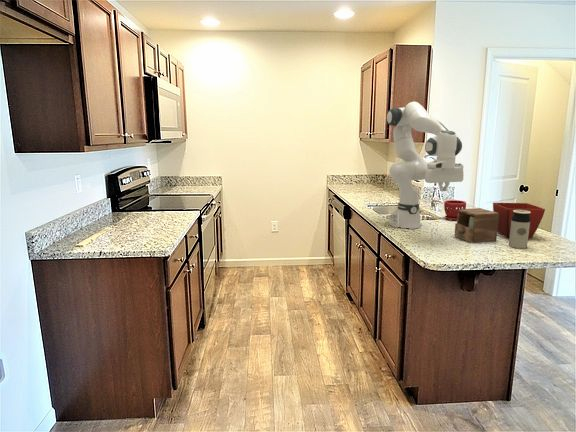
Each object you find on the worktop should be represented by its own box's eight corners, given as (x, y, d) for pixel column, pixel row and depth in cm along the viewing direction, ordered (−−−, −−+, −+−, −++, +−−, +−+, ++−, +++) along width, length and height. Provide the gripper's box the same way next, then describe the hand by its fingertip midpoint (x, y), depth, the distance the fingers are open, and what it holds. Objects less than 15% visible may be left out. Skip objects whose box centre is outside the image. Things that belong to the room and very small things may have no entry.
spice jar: (465, 235, 214) (467, 215, 212) (472, 235, 216) (475, 215, 214) (472, 238, 210) (474, 217, 208) (479, 237, 211) (481, 217, 209)
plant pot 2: (523, 231, 228) (526, 202, 225) (542, 240, 210) (546, 209, 206) (489, 231, 229) (492, 202, 226) (504, 240, 211) (508, 208, 207)
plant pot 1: (459, 217, 266) (460, 199, 264) (468, 221, 253) (470, 203, 251) (439, 217, 266) (441, 199, 264) (448, 221, 253) (449, 203, 251)
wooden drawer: (451, 236, 217) (452, 223, 216) (476, 234, 221) (477, 222, 219) (467, 242, 205) (468, 229, 203) (493, 240, 209) (494, 227, 207)
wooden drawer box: (455, 236, 218) (458, 209, 215) (477, 234, 222) (480, 208, 219) (473, 243, 205) (476, 214, 202) (496, 241, 209) (499, 213, 205)
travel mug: (508, 243, 204) (512, 209, 200) (526, 245, 200) (531, 210, 196) (508, 247, 197) (512, 211, 194) (526, 249, 193) (531, 213, 190)
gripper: (459, 162, 205) (457, 189, 208) (424, 163, 200) (422, 190, 203) (467, 163, 199) (465, 191, 202) (431, 164, 194) (429, 192, 197)
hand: (443, 191), depth 203 cm, fingers closed
